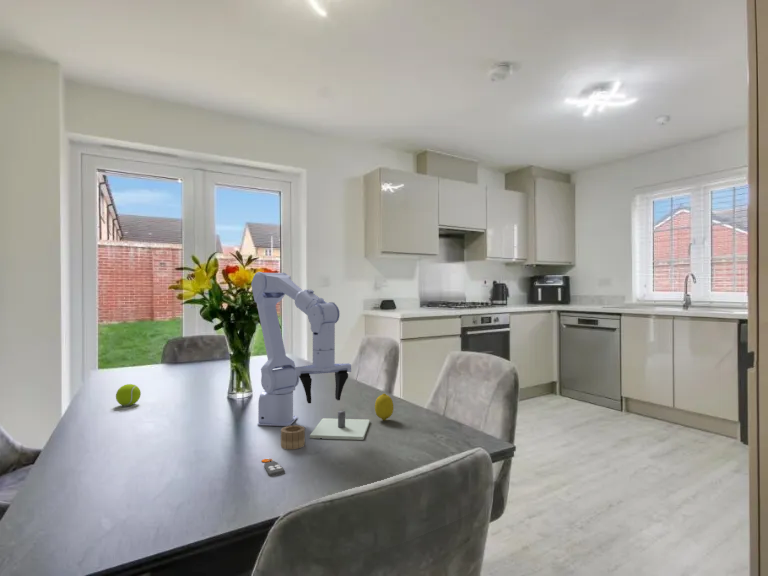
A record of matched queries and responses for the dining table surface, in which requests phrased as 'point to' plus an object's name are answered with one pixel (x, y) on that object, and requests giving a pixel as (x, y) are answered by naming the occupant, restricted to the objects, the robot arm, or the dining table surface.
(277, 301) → the robot arm
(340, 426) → the white board with peg
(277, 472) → the key chain
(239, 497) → the dining table surface
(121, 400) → the tennis ball
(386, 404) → the lemon
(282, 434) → the bead
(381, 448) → the dining table surface
